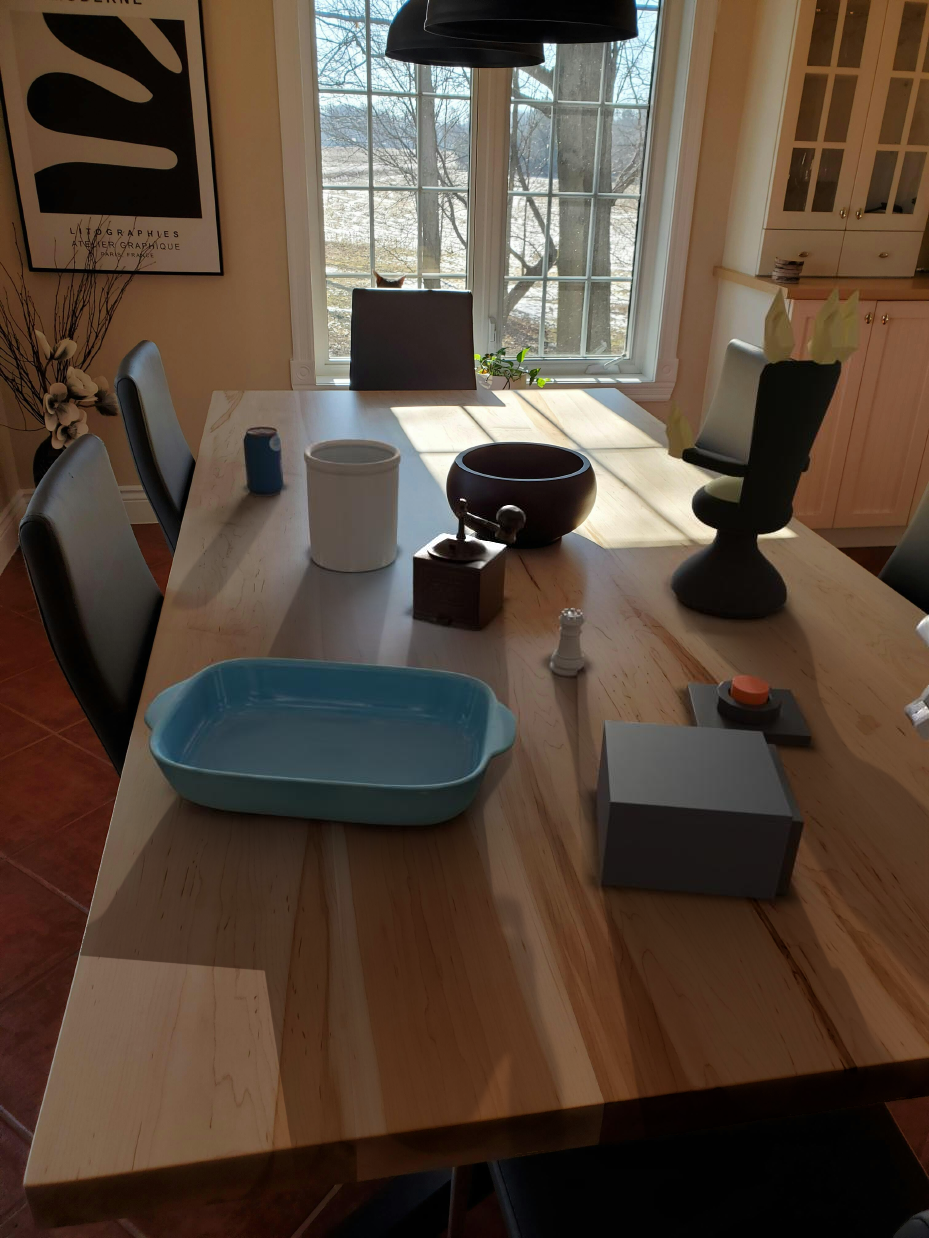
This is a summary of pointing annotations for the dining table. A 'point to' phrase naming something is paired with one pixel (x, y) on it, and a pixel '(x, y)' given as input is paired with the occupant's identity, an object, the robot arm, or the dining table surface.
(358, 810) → the casserole dish
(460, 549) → the manual coffee grinder
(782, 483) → the black plant vase
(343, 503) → the utensil holder
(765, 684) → the button
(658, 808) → the cabinet
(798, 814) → the drawer
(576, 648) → the rook chess piece
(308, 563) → the dining table surface
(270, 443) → the soda can
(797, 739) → the button box
